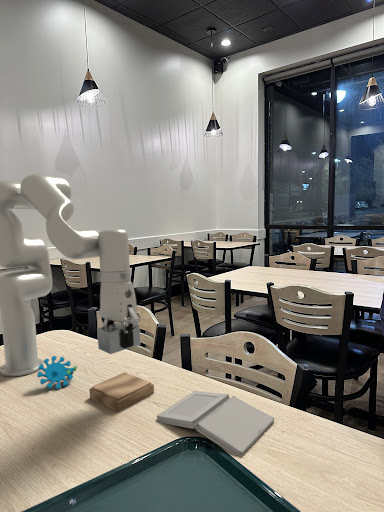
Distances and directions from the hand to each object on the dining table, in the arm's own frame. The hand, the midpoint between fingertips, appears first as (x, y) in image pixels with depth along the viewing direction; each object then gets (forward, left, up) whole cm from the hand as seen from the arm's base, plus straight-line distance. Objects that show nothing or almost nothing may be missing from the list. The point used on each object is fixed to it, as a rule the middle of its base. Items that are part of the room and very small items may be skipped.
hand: (119, 343), depth 93 cm
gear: (-21, -7, -14) cm, 26 cm away
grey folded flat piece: (+27, +5, -15) cm, 31 cm away
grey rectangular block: (0, 0, -1) cm, 1 cm away
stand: (0, 0, -14) cm, 14 cm away
